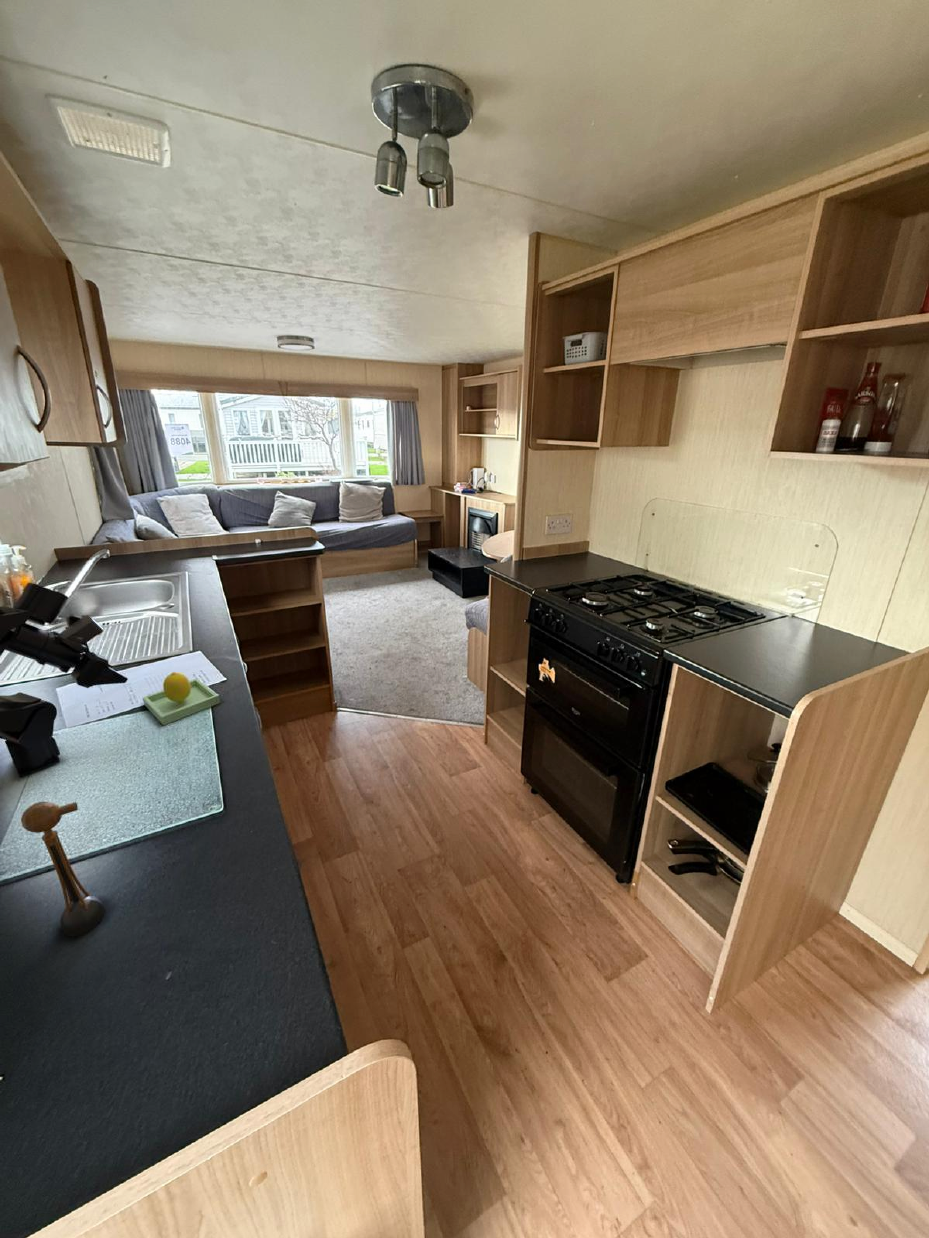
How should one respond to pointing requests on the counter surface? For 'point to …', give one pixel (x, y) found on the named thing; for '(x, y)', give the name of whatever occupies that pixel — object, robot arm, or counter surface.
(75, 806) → the wooden tabletop sculpture
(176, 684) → the lemon
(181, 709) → the tray
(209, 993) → the counter surface
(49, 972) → the counter surface
